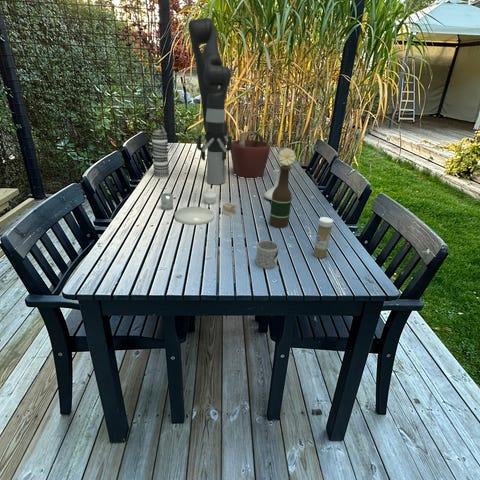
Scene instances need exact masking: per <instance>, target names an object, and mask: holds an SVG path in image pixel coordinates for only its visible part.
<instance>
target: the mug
mask: <svg viewBox="0 0 480 480" xmlns="http://www.w3.org/2000/svg"><path fill="white" fill-rule="evenodd" d="M279 246H280V245H279V244H278V243H277V242H274V241H272V240H266V239H264V240H261V241H258V242H257V247H256V258H255V264H256V266H257V268H261V269H264V270H271V269H274V268H276V266H277V264H278V263H277V262H278V255H279V254H278V253H279V248H280V247H279Z"/></svg>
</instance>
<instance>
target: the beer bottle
mask: <svg viewBox="0 0 480 480" xmlns="http://www.w3.org/2000/svg"><path fill="white" fill-rule="evenodd" d="M279 167H280V168H279V170H281V171H280V177H279V182H278V186H277V187H276V188H275V189H274V191H273V194H272V200H271V202H270V203H271V204H270V214H269V224H270V226H271V227H274V228H275V229H277V228H278V229H283V228H286V227H288V226H289V222H290V213H291V205H292V191H291V189H290V188H289V176H290V173H289V172H290V171H291V170H290V167H289V166H286V165H284V164H282V165H281V166H279Z"/></svg>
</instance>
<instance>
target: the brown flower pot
mask: <svg viewBox="0 0 480 480" xmlns="http://www.w3.org/2000/svg"><path fill="white" fill-rule="evenodd" d="M250 134H254V135H255V136H256V137H258V140H255V139H253V140H252V139H249V140H248V139H245V138H246V136H248V135H250ZM238 138H239V139H236V140H234V141H231V150H230V156H231V163H232V168H233V169H232V170H233V174H236V175H237V176H239V177H244V178H257V177H262V176H263V175H264V174H265V173H264V172H265V169H266V167H267V166H266V165H267V163H268V159H269V155H270V152H271V146H270V144H269V142H266V141H264V140H265V139H264V136H263V135H261V134H260V133H259V132H257V131H251V130H250V131H245V132H242V133H240V134H239V135H238ZM237 176H236V177H237ZM239 177H238V178H239ZM262 178H263V177H262Z"/></svg>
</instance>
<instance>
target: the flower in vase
mask: <svg viewBox="0 0 480 480" xmlns="http://www.w3.org/2000/svg"><path fill="white" fill-rule="evenodd" d="M277 156H278V157H277V159H278V161H279V163H280V164H282V165H286V166H289V167H290V170H289V171H291V170H293V166H292V164H294V162H295V160H296V157H297V156H296V153H295V151H294V149H291V148H288V147H286V148H284V149H281V150H280V151H279V153H278V155H277ZM274 167H276V168H278V169H275V170H273V171H272V172H273V175H274V185H273V187H271V188H270V189H268V190H267V191H266V192H264V194H263V197H265V199H268V200H269V201H272V194H273V191H274V189H275V188H276V187H277V186H278V182H279V177H280V171H281V169H280V167H281V166H278V165H276V164H275V163H274Z"/></svg>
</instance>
